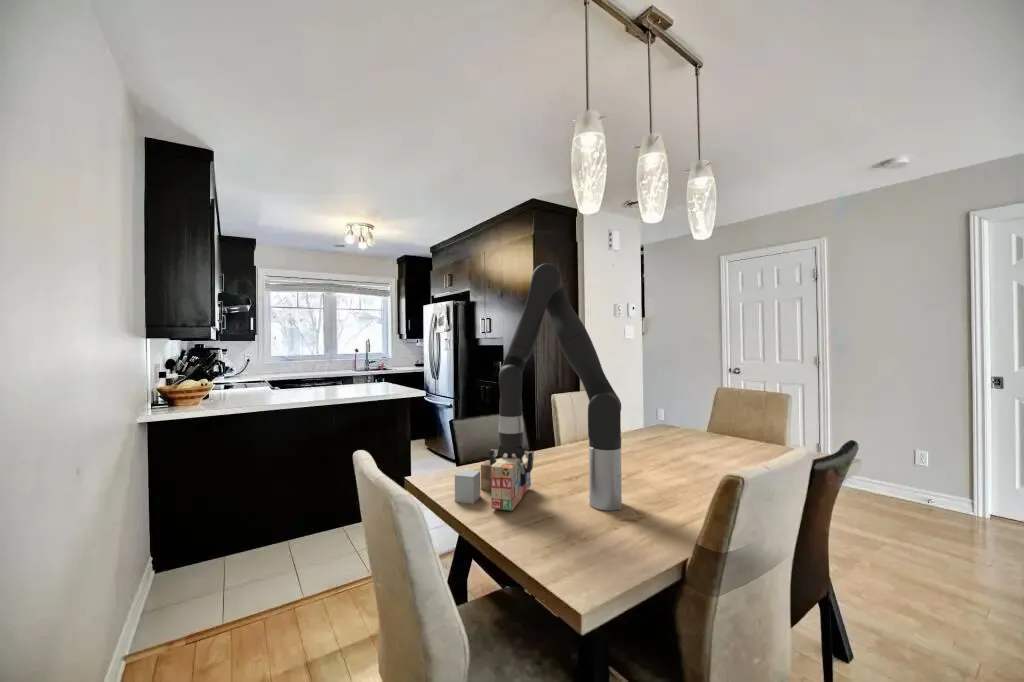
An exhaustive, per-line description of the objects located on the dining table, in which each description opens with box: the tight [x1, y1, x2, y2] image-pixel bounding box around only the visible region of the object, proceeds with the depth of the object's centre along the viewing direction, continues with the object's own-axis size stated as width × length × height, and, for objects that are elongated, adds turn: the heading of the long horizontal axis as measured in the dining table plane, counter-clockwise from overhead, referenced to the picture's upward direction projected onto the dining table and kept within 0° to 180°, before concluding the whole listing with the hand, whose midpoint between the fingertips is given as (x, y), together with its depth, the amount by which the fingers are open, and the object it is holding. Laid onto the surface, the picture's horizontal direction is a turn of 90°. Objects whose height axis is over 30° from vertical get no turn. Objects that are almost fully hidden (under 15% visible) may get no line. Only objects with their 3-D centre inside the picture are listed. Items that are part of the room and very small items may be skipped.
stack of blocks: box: [490, 456, 532, 511], centre depth 128 cm, size 21×6×12 cm, turn 163°
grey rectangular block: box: [454, 469, 481, 504], centre depth 128 cm, size 6×6×8 cm
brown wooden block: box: [480, 459, 498, 491], centre depth 139 cm, size 6×6×8 cm
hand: (511, 484), depth 127 cm, fingers closed on stack of blocks, 6 cm apart
